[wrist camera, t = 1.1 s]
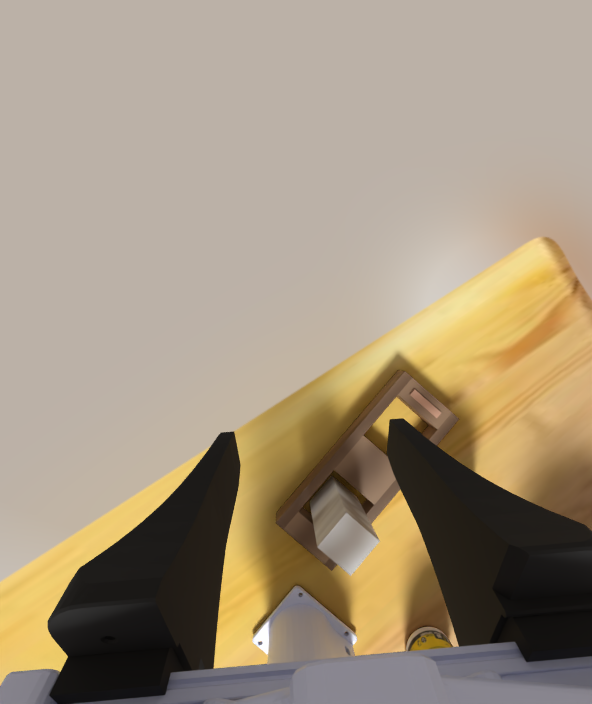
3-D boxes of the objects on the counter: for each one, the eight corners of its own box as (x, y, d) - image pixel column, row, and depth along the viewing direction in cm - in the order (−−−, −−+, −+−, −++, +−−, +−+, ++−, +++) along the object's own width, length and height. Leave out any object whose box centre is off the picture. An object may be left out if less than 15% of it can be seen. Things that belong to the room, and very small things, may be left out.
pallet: (449, 415, 34) (498, 433, 26) (329, 558, 34) (342, 621, 26) (398, 370, 34) (432, 375, 26) (276, 512, 33) (273, 562, 25)
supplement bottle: (451, 626, 34) (519, 734, 24) (445, 672, 34) (510, 799, 24) (407, 621, 34) (457, 729, 24) (401, 667, 34) (449, 794, 24)
